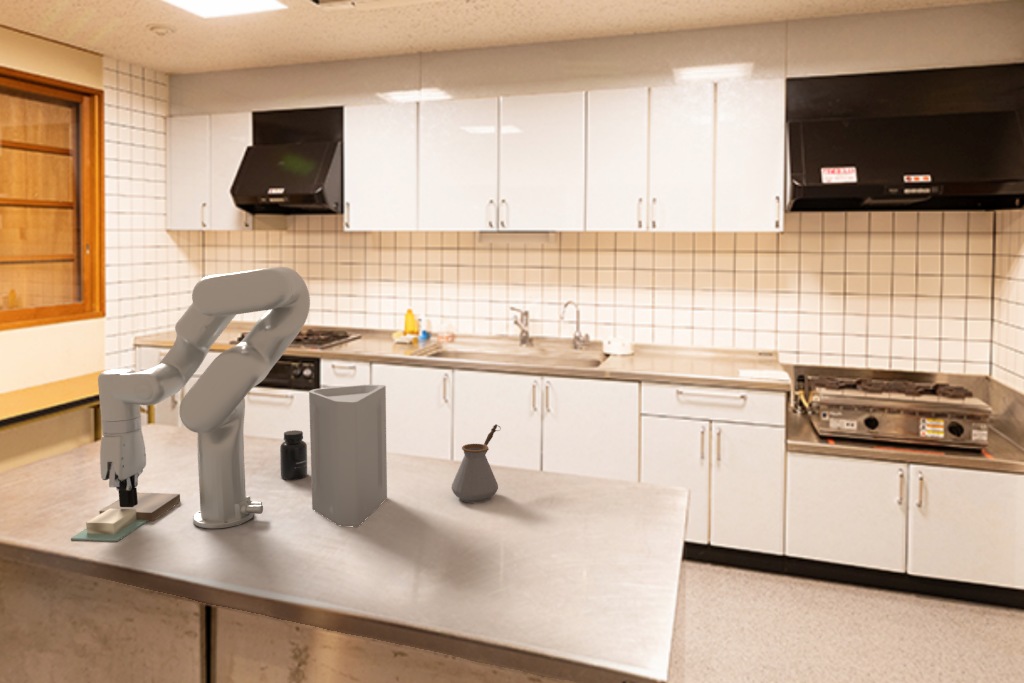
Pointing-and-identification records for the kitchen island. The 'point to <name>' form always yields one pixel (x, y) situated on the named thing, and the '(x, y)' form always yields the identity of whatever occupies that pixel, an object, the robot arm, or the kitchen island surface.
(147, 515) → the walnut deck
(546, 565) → the kitchen island surface
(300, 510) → the kitchen island surface
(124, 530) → the rubber mat
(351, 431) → the grey triangular vase
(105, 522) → the birch tile
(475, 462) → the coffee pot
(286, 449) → the supplement bottle
